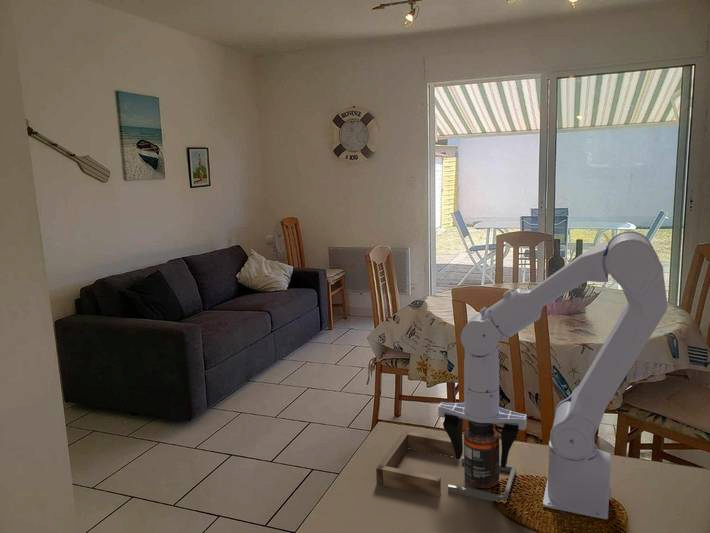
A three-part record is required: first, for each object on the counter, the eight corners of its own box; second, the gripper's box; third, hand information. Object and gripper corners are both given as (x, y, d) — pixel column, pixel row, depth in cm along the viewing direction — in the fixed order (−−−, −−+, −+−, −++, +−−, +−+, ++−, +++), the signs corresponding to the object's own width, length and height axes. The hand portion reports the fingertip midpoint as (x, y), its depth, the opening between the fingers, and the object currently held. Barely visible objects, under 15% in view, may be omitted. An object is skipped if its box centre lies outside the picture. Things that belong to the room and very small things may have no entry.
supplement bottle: (494, 470, 99) (494, 411, 97) (503, 489, 93) (504, 427, 91) (460, 471, 99) (460, 412, 97) (468, 491, 93) (468, 428, 91)
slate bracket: (515, 471, 98) (516, 466, 98) (506, 504, 89) (506, 498, 89) (462, 461, 102) (462, 456, 102) (448, 491, 93) (448, 486, 93)
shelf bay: (459, 454, 105) (459, 440, 104) (438, 497, 92) (438, 481, 91) (404, 444, 109) (403, 430, 109) (376, 483, 96) (376, 468, 96)
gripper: (529, 382, 93) (528, 456, 96) (445, 372, 99) (446, 442, 102) (524, 399, 87) (522, 478, 90) (434, 387, 93) (435, 461, 95)
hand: (481, 460), depth 95 cm, fingers open, 7 cm apart
